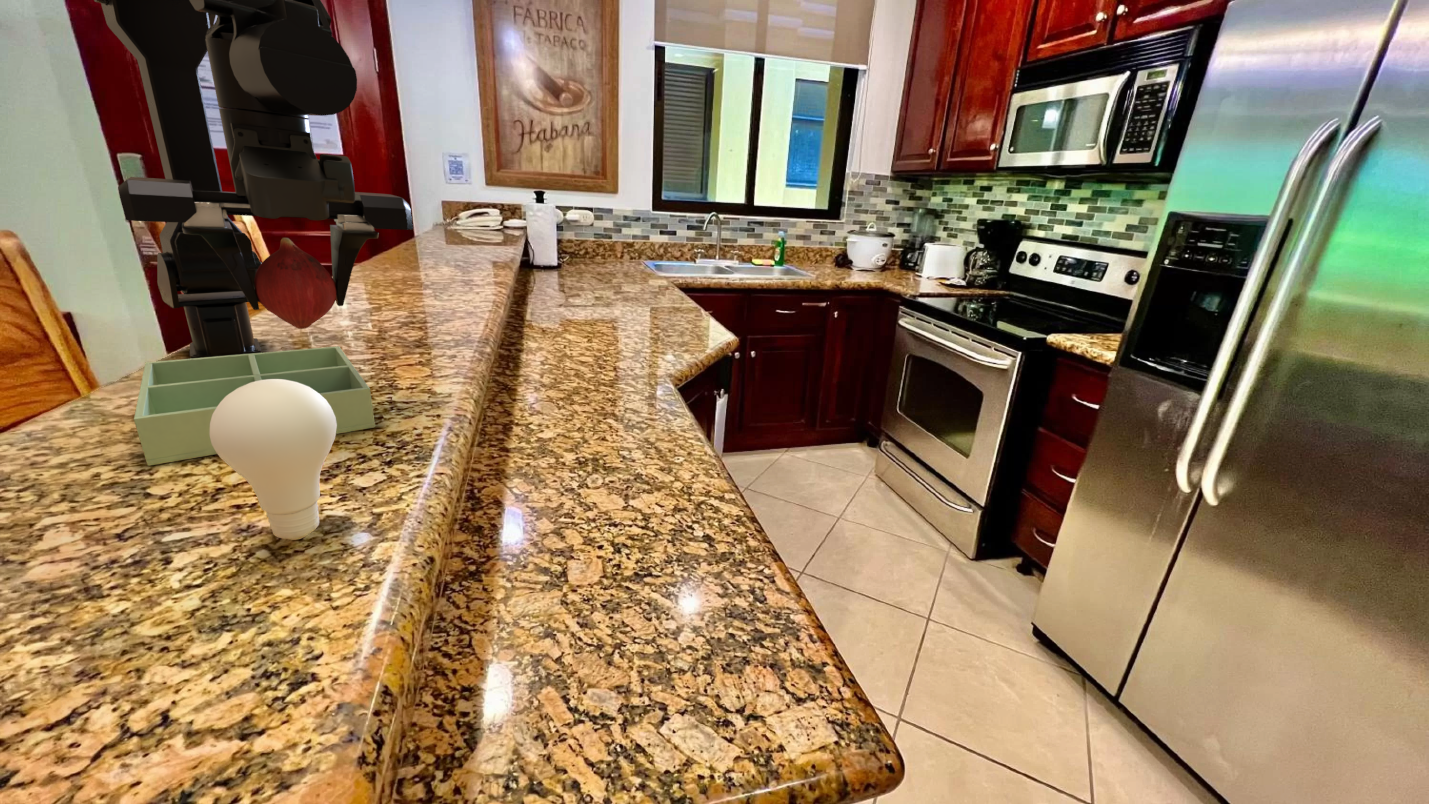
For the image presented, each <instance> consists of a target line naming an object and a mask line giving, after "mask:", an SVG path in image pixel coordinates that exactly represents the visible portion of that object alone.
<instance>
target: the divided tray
mask: <svg viewBox="0 0 1429 804" xmlns="http://www.w3.org/2000/svg"><path fill="white" fill-rule="evenodd" d="M142 372H143V373H142V376H141V381H140V387H139V391H138V397H137V401H136V407H135V412H134V416H133V422H134V425H135V428H136V432H137V435H138V438H139V443H140V445H141V449H142V452H143V455H144V459H145V461H146V466H148V467H149V466H156V465H161V464H167V463H172V462H173V463H174V462H178V461H179V462H180V461H185V460H190V459H195V458H203V457H208V456H213V455H218V454H217V452H216V451H215V449H214V447H213V446H212V443H211V439H210V421H211V417H212V414H213V413H214V411H215V409H216V408H217V406H218V405H219V403H220V402H221V401H222V400H223V399H224V398H225V397H226V396H227V395H228V394H230V393H231V392H233V391H234V390H236V389H237V388H239V387H241V386H244V385H246V384H248V383H251V382H255V381H259V380H266V379H284V380H289V381H294V382H298V383H301V384H303V385H306V386H308V387H310V388H312V389H313V390H315V391H316V392H318V393H319V394H320V395H321V396H322V397H324V398H325V399H326V400H327V402H328V403H329V405H330V406H331V408H332V410H333V413H334V415H335V417H336V423H337V428H336V435H337V434H344V433H349V432H357V431H361V430H362V431H363V430H367V429H373V428H376V423H375V417H374V409H373V401H372V394H371V393H372V392H371V388H370V386H369V385H368V384H367V382H366V381H365V380H364V378H363V377H362V376H361V374H360V372H359V371H358V370H357V369H356V367H355V366H354V365H353V363H352V362H351V360H350V359H349V357H348V356H347V355H346V353H345V352H344V350H343V349H342V348H341V347H340V346H339V345H337V346H324V347H313V348H301V349H288V350H276V351H266V352H262V353H252V354H240V355H228V356H216V357H204V358H192V359H190V358H182V359H170V360H157V361H146V362H145V363H144V366H143V371H142Z"/></svg>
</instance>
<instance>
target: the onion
mask: <svg viewBox="0 0 1429 804" xmlns="http://www.w3.org/2000/svg"><path fill="white" fill-rule="evenodd" d="M279 244H280V245H279V249H277V250H276V251H274V252H272V254H270V255H268V256H267V257H266V258H265V259H264V260H263V261H261V262H262V264H261V265H260V266H259V268H258V270H257V272H256V275H255V279H254V284H255V291H256V295H257V297H258V300H259V302H258V303H259V304H261V306H263V308H265V309H266V310H267V311H268V312H269V313H271V314H273V315H275V316H276V317H277V318H279V319H280V320H282V321H283V322H286V323H287V324H289V325H291V326H292V327H294V328H295V329H299V330H305V329H307V328H309V327H311V326H312V325H313V324H315V323H317V322H318V321H319V320H320V319H322V318H323V317H324V316H325V315H326V314H327V313H328V312H329V311H330V310H331V309H332V308H333V306H334V304H335V303H336V286H335V282H334V280H333V275H331V273H330V272H329V271H328V269H326V267H324V265H323V264H322V263H321V262H320V261H319V260H318V259H317V258H315V256H313V255H311V254H309V253H308V252H306V251H304V250H302V249H301V248H300V247H298V246H297V245H296V244H295V243H294V241H292V239H290V238H289V237H282V238H281V240H280V243H279Z"/></svg>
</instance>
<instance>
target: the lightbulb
mask: <svg viewBox="0 0 1429 804" xmlns="http://www.w3.org/2000/svg"><path fill="white" fill-rule="evenodd" d="M336 428H337V423H336V417H335V415H334V413H333V410H332V408H331V406H330V405H329V403H328V402H327V400H326V399H325V398H324V397H322V396H321V395H320V394H319V393H318V392H316V391H315V390H313V389H312V388H310V387H308V386H306V385H303V384H301V383H298V382H294V381H289V380H284V379H266V380H259V381H255V382H251V383H248V384H246V385H244V386H241V387H239V388H237V389H236V390H234V391H233V392H231V393H230V394H228V395H227V396H226V397H225V398H224V399H223V400H222V401H221V402H220V403H219V405H218V406H217V408H216V409H215V411H214V413H213V414H212V417H211V421H210V439H211V443H212V446H213V447H214V449H215V451H216V452H217V454H216V455H217V456H218V457H219V458H220V460H222V461H223V462H224V463H226V465H227V466H228V467H230V469H232V471H234V472H236V473H237V474H238V475H239V476H240V477H242V478H243V479H245V481H246V482H247V483H248V485H250V487H251V488H252V491H253V492H254V494H255V496H256V498H257V502H258V505H259V506H260V508H261V510H262V511H263V512H265V513H266V517H267V519H268V523H269V527H270V529H271V532H272V534H273V536H275V537H277V538H279V539H282V540H291V541H297V540H301V539H303V538H305V537H307V536H308V535H309V534H311V533H312V532H315V530H316V529H317V528H318V527H319V526H320V515H319V514H320V510H319V505H318V501H319V499H320V496H321V485H320V479H321V472H322V469H323V466H324V463H325V461H326V459H327V457H328V455H329V454H330V452H331V449H332V446H333V444H334V442H335V439H336V435H337V434H336Z"/></svg>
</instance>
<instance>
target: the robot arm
mask: <svg viewBox="0 0 1429 804" xmlns="http://www.w3.org/2000/svg"><path fill="white" fill-rule="evenodd" d="M93 1H94V2H95V3H99V4H100V5H101V8H102V13H103V15H104V19H105V22H106V25H107V27H108V28H109V30H110V31H111V32H112V33H113V34H114V35H115V36H116V38H118V40H119V41H120V42H121V43H122V45H124V47H125V48H126V49H127V51H129V52H130V53H131V54H132V56H133V57H134V59H136V61H137V64H138V68H139V73H140V77H141V81H142V85H143V90H144V93H145V98H146V102H147V107H148V110H149V115H150V120H151V123H152V127H153V128H152V129H153V132H154V136H155V139H156V140H155V141H156V144H157V148H158V153H159V157H160V161H161V162H160V163H161V166H162V170H163V174H164V178H154V177H141V176H130V177H128V178H127V179H125V180H124V181H123V182H122V183H120V184H119V185H118V186H117V190H118V197H119V199H120V204H121V208H122V211H123V214H124V218H125V220H126V221H131V222H148V223H149V222H150V223H151V222H153V223H165V225H163V227H162V229H161V232H160V233H159V240H160V245H161V250H162V252H157V259H156V260H157V264H156V265H157V269H156V270H157V273H156V274H157V278H156V279H157V280H156V281H157V286H158V290H159V292H160V296H161V299H162V301H163V302H164V303H165V304H166V305H168V306H169V307H170V308H172V309H180V308H183V309H184V314H185V317H186V321H187V325H188V329H189V333H190V337H191V341H192V342H190V343H189V359H192V358H204V357H216V356H228V355H240V354H252V353H263V352H262V348H261V345H260V342H259V339H258V338H256V337H254V332H253V328H252V323H251V322H252V321H251V318H250V313H249V308H248V304H247V303H249V305H250V306H251V309H253V310H254V311H258V310H260V305H259V303H260V302H259V300H258V297H257V295H256V291H255V284H254V279H255V275H256V272H257V270H258V268H259V266H260V265H261V264H262V262H263V261H260V258H259V256H258V255H257V253H256V252H255V251H253V245H252V244H253V243H252V240H251V239H250V237H249V236H248V235H247V233H245V232H243V231H242V230H241V229H240V228H239V227H238V226H237V224H235V222H234V221H233V220H232V219H231V218H230V217H229V216H242V217H243V216H246V217H247V216H248V217H260V218H264V219H273V220H276V219H279V218H295V219H308V220H310V221H324V220H333V221H334V222H335V224H329V228H330V229H329V231H330V251H331V253H330V254H331V270H332V272H331V273H332V278H333V280H334V282H335V286H336V301H335V303H336V306H338V307H343V306H344V304H345V300H346V296H347V292H348V289H349V285H350V280H351V276H352V272H353V269H354V265H355V262H356V260H357V258H358V255H359V253H360V251H361V249H362V247H363V246H364V245H365V243H366V242H367V240H369V239H370V240H371V239H372V240H373V239H375V240H376V239H379V234H380V233H379V232H378V231H376V230H397V231H398V230H399V231H401V230H403V231H410V230H414V229H413V228H414V227H413V218H412V210H411V207H410V204H409V203H408V202H407V201H406V200H405V199H404V198H403V197H401V196H399V195H398V196H397V195H394V194H390V193H378V192H377V193H375V192H361V191H360V192H359V191H356V189H355V181H354V180H355V179H354V174H353V173H354V172H353V167H352V162H351V160H350V158H349V157H348V156H345V155H337V154H327V153H321V154H320V155H319V159H318V158H317V155H316V153H315V147H314V141H313V135H312V134H313V133H312V127H311V120H310V116H334V115H336V114H340V113H343V112H344V111H345V110H346V109H347V108H349V107H350V105H351V104H352V102H353V101H354V100H355V96H356V94H357V90H358V77H357V76H358V75H357V70H356V69H355V68H354V65H353V64H352V62H351V59H350V56H349V55H348V54H347V52H346V50H345V49H344V48H343V46H342V45H341V44H340V43H339V41H337V39H336V38H334V36H333V30H332V28H331V24H332V17H331V15H330V13H328V10H327V8H326V7H325V5H324V3H323V2H322V0H93ZM206 54H207V55H208V60H209V65H210V71H211V75H212V76H211V77H212V81H213V86H214V90H215V97H216V101H217V106H218V110H219V117H220V120H221V126H222V132H223V136H224V140H225V141H224V142H225V146H226V150H227V156H228V161H229V162H228V163H229V166H230V171H231V176H232V181H233V182H232V183H233V187H234V191H223V188H222V184H221V177H220V174H219V169H218V163H217V159H216V153H215V149H214V145H213V144H214V143H213V139H212V134H211V130H210V125H209V120H208V115H207V109H206V105H205V100H204V95H203V89H202V85H201V80H200V76H199V75H200V73H199V67H200V65H201V63H202V61H203V60H204V58H205V57H206ZM375 229H376V230H375ZM178 292H182V293H178Z"/></svg>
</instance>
